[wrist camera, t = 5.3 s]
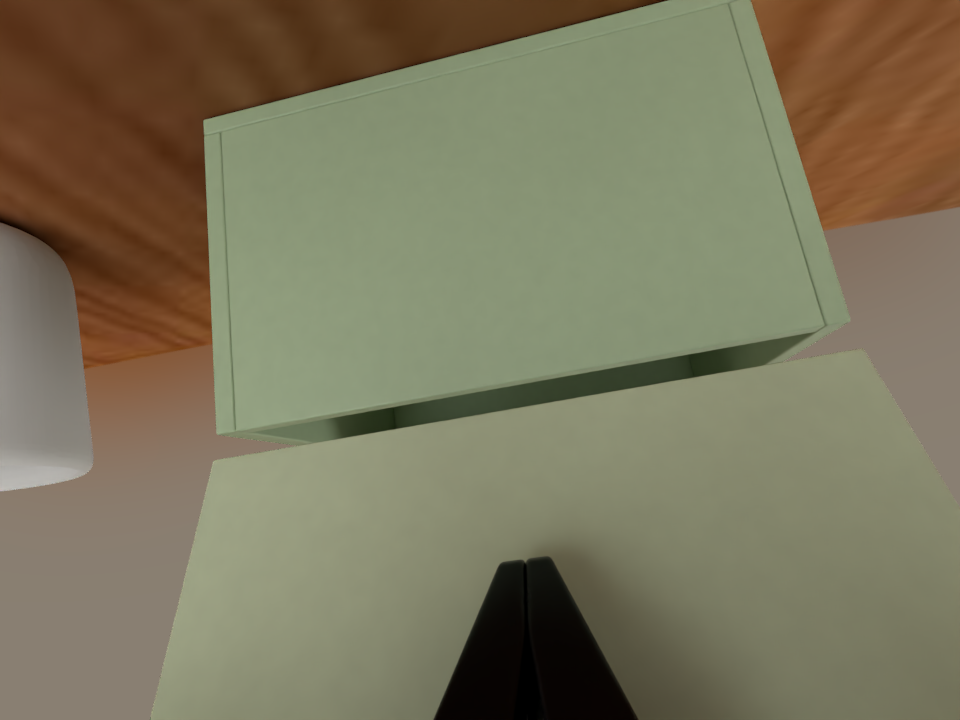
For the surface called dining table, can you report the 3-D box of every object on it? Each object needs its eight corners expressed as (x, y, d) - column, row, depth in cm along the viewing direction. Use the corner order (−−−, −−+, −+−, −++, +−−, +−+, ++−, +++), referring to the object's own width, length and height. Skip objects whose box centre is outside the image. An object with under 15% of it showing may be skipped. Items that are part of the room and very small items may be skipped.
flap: (222, 467, 13) (212, 459, 13) (857, 359, 12) (863, 347, 11) (141, 815, 10) (125, 816, 9) (1078, 733, 8) (1097, 730, 7)
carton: (201, 118, 15) (216, 469, 13) (745, -21, 14) (864, 359, 11) (371, 282, 28) (393, 476, 26) (666, 221, 26) (716, 424, 24)
